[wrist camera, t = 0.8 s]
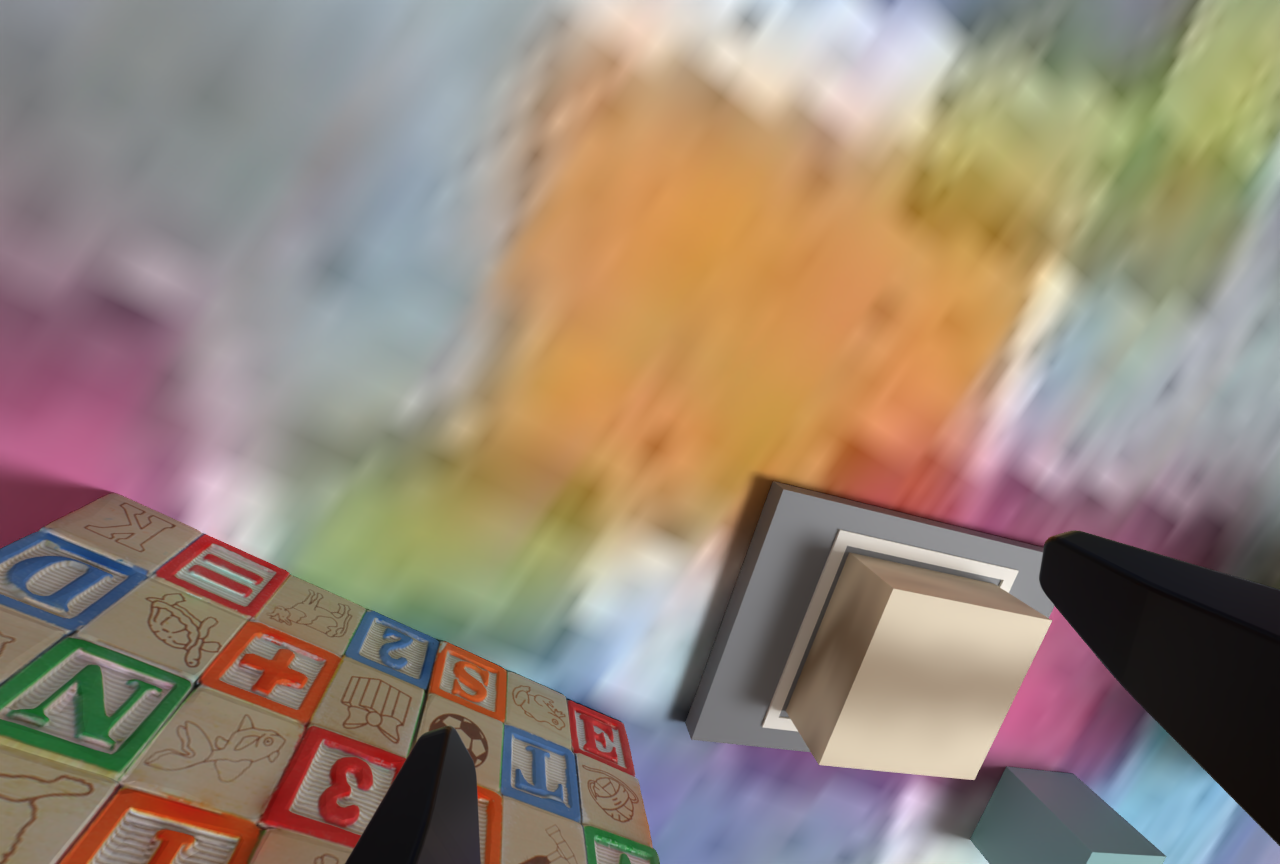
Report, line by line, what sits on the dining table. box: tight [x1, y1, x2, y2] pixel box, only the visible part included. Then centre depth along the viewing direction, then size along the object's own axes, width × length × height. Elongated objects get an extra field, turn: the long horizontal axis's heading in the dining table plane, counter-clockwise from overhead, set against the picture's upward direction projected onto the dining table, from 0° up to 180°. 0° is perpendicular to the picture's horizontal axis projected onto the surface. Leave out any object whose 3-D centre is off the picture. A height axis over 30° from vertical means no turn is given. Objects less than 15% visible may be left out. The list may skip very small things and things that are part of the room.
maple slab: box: [786, 552, 1052, 780], centre depth 24 cm, size 8×8×3 cm
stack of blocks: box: [0, 493, 660, 864], centre depth 16 cm, size 21×6×12 cm, turn 54°
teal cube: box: [970, 766, 1166, 864], centre depth 30 cm, size 5×5×5 cm
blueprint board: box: [685, 481, 1055, 752], centre depth 26 cm, size 12×16×1 cm
